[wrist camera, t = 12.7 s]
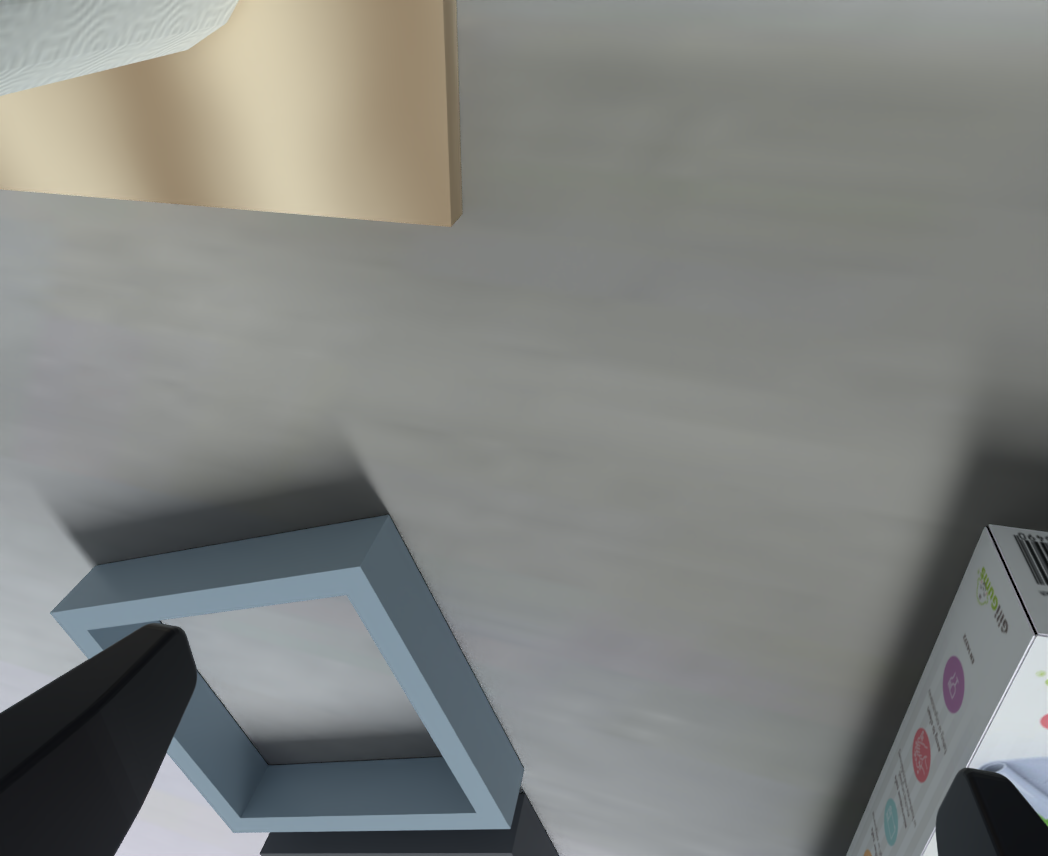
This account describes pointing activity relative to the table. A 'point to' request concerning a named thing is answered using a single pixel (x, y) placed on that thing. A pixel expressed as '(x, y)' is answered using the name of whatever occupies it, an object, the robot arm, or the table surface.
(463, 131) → the table surface
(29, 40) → the paper towel roll
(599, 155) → the table surface
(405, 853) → the tray
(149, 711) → the robot arm
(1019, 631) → the box
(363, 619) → the blue square frame
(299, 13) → the wooden pad
